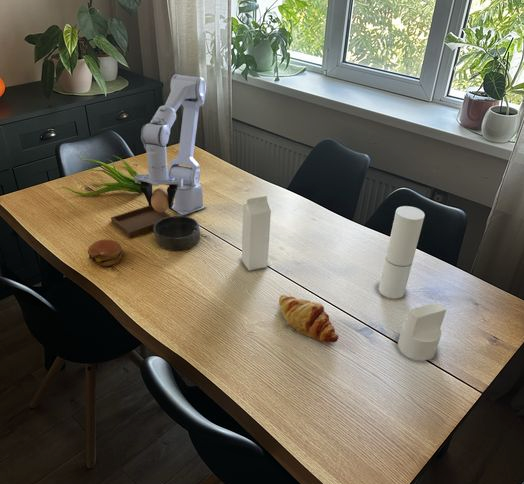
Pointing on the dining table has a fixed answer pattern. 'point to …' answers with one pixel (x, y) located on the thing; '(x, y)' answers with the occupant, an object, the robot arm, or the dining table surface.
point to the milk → (256, 233)
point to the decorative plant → (123, 180)
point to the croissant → (308, 318)
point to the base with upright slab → (422, 331)
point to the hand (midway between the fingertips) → (160, 205)
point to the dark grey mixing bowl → (176, 232)
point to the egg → (160, 200)
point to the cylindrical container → (401, 251)
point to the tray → (138, 220)
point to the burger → (105, 252)
